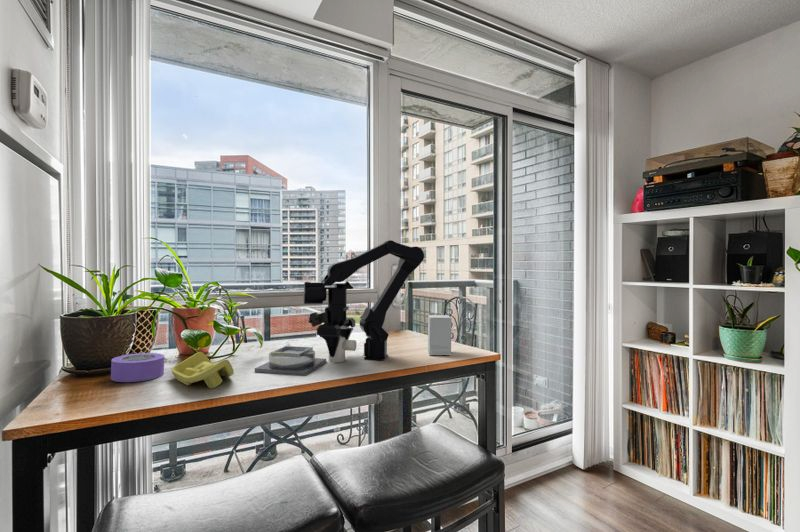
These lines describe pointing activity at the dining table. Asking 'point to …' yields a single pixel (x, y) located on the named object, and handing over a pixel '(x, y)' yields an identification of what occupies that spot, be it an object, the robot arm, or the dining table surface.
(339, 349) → the elbow fitting
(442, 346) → the supplement box
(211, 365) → the plastic component
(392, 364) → the dining table surface
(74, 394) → the dining table surface
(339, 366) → the dining table surface
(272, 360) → the duct stub
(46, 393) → the dining table surface
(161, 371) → the tape roll
